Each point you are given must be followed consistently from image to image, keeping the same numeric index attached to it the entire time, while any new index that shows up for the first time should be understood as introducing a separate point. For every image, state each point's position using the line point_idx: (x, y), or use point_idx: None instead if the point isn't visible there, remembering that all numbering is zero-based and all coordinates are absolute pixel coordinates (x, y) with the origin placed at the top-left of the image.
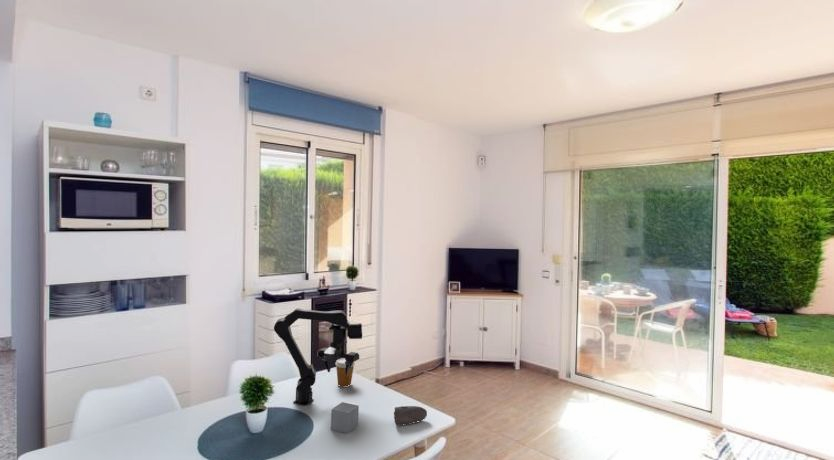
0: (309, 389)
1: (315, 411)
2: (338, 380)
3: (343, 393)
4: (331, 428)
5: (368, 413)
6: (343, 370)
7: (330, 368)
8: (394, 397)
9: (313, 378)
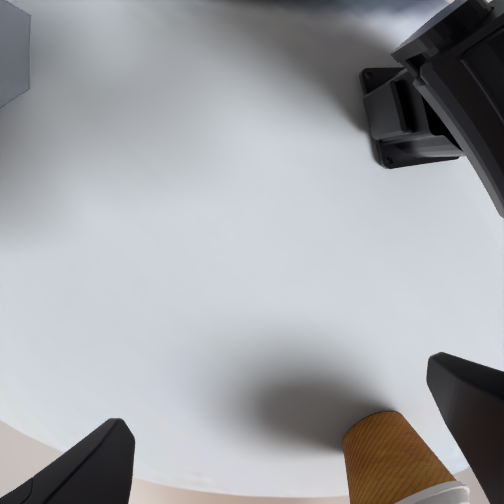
0: (393, 52)
1: (233, 51)
2: (403, 429)
3: (305, 375)
4: (25, 15)
5: (5, 256)
6: (390, 489)
7: (445, 419)
8: None
9: (447, 48)
